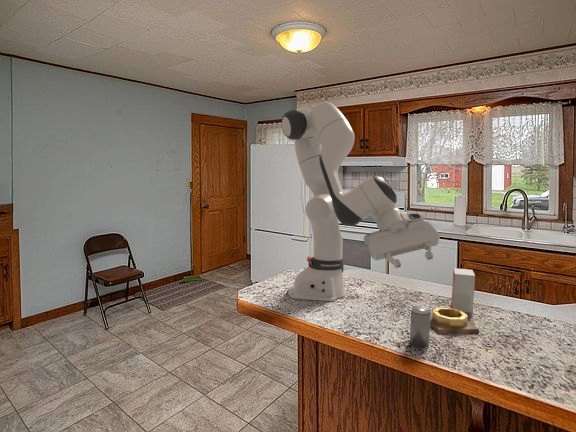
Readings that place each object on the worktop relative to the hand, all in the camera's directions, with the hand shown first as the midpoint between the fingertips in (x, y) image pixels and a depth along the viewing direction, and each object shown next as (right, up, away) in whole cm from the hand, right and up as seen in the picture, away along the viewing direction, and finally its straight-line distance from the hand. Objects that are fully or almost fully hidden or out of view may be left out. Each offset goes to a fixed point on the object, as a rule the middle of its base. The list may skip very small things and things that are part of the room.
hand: (414, 262), depth 100 cm
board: (+15, -21, +12) cm, 28 cm away
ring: (+15, -20, +11) cm, 27 cm away
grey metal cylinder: (+1, -22, -1) cm, 22 cm away
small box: (+26, -19, +26) cm, 41 cm away
